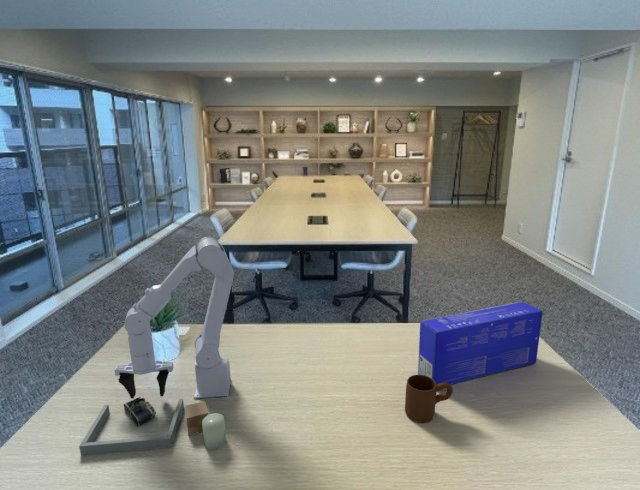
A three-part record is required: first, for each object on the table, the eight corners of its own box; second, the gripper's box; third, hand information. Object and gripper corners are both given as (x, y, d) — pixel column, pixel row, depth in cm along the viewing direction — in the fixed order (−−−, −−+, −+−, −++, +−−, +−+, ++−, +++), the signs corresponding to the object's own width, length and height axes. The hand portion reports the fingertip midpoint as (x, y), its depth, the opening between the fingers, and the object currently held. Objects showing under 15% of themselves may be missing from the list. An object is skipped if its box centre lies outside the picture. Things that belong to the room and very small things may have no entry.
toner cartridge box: (515, 351, 134) (523, 300, 129) (536, 364, 127) (545, 311, 122) (415, 374, 122) (419, 319, 117) (432, 390, 114) (436, 332, 109)
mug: (446, 404, 108) (448, 373, 106) (455, 423, 101) (458, 391, 98) (401, 404, 108) (403, 374, 106) (408, 424, 101) (410, 392, 98)
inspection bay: (184, 406, 108) (183, 398, 107) (171, 447, 94) (170, 438, 93) (105, 413, 106) (104, 405, 105) (80, 455, 92) (79, 446, 91)
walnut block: (206, 417, 104) (205, 400, 103) (209, 430, 99) (207, 412, 98) (186, 422, 102) (184, 405, 101) (188, 435, 98) (186, 418, 96)
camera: (143, 400, 111) (141, 387, 110) (158, 419, 104) (156, 405, 103) (123, 408, 108) (121, 395, 106) (138, 428, 100) (136, 414, 99)
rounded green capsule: (226, 433, 98) (225, 412, 97) (224, 448, 93) (222, 426, 92) (206, 435, 98) (203, 414, 96) (202, 450, 93) (200, 428, 91)
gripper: (173, 341, 111) (178, 384, 114) (118, 345, 109) (125, 388, 113) (167, 355, 104) (172, 400, 107) (108, 358, 102) (116, 404, 106)
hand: (148, 395), depth 110 cm, fingers open, 7 cm apart
